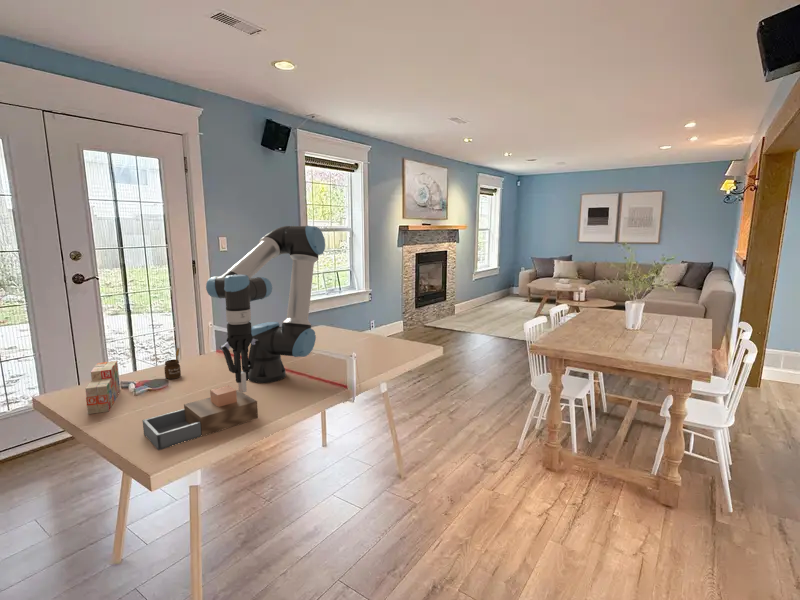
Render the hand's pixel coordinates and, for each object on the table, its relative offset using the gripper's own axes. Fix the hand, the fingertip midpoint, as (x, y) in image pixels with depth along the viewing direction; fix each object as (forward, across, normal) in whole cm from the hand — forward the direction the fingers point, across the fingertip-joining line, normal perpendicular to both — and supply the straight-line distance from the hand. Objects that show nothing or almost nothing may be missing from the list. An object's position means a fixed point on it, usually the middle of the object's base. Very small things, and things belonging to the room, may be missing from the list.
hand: (242, 390), depth 145 cm
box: (+8, -22, 0) cm, 24 cm away
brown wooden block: (+8, -7, 0) cm, 11 cm away
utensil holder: (+8, -4, +56) cm, 57 cm away
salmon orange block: (+2, -6, 0) cm, 7 cm away
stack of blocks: (+8, -31, +45) cm, 55 cm away
